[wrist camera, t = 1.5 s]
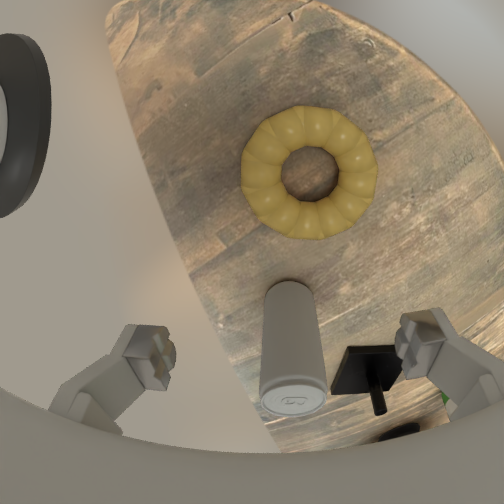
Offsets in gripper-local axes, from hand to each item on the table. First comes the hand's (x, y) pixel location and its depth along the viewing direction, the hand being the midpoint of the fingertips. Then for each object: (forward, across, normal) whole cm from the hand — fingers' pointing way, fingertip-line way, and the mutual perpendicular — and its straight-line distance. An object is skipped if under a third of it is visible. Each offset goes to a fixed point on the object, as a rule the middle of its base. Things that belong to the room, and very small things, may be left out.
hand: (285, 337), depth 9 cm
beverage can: (+16, 0, +10) cm, 19 cm away
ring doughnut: (+14, -3, -2) cm, 14 cm away
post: (+15, -11, +24) cm, 30 cm away
